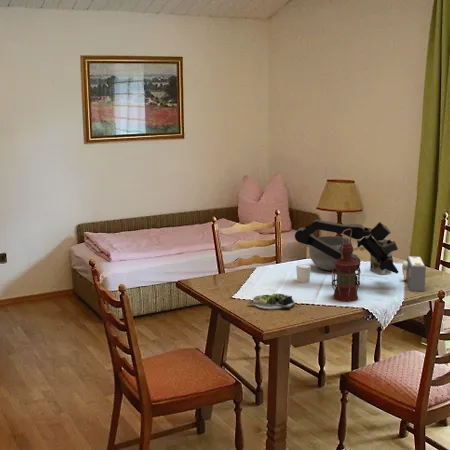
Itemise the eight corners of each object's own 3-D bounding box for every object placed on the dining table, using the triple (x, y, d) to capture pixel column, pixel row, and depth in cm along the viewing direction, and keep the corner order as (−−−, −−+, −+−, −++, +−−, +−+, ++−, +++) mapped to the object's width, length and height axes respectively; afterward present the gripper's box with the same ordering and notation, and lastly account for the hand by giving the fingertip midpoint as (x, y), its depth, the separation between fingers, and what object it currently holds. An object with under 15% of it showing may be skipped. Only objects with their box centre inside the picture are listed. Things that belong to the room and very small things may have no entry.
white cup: (293, 281, 295) (293, 267, 293) (299, 278, 301) (299, 263, 299) (307, 283, 292) (307, 269, 290) (312, 279, 297) (313, 265, 296)
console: (410, 290, 278) (411, 265, 276) (406, 279, 296) (407, 255, 293) (424, 291, 277) (425, 265, 275) (419, 279, 294) (420, 255, 292)
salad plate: (250, 313, 254) (250, 302, 253) (244, 299, 272) (244, 289, 271) (297, 310, 256) (297, 300, 255) (289, 297, 273) (289, 287, 272)
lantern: (350, 304, 262) (352, 233, 256) (325, 298, 270) (326, 229, 264) (365, 297, 271) (367, 228, 265) (340, 291, 279) (341, 225, 273)
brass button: (410, 278, 278) (410, 269, 277) (409, 275, 282) (409, 266, 281) (417, 278, 278) (417, 269, 277) (416, 275, 281) (416, 267, 281)
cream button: (403, 270, 290) (403, 262, 289) (402, 268, 294) (402, 260, 293) (409, 270, 289) (410, 262, 289) (409, 268, 293) (409, 260, 293)
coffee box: (369, 270, 311) (370, 238, 308) (380, 269, 314) (381, 237, 311) (381, 275, 303) (382, 242, 300) (392, 273, 306) (393, 241, 302)
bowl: (302, 265, 322) (303, 237, 319) (339, 262, 328) (339, 233, 325) (320, 276, 303) (321, 245, 300) (358, 272, 309) (359, 242, 306)
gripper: (388, 240, 269) (414, 266, 269) (385, 231, 287) (409, 255, 287) (369, 257, 272) (394, 283, 272) (367, 247, 290) (390, 271, 290)
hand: (397, 272), depth 281 cm, fingers closed
